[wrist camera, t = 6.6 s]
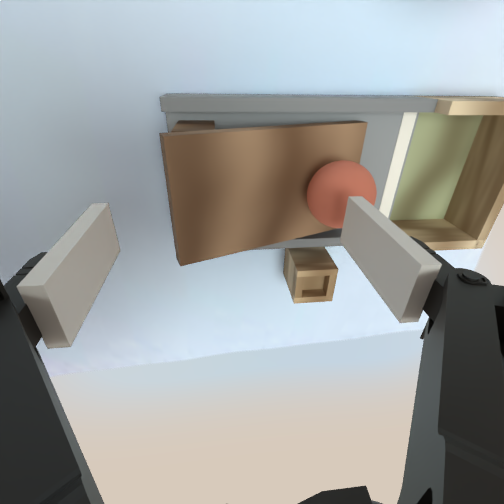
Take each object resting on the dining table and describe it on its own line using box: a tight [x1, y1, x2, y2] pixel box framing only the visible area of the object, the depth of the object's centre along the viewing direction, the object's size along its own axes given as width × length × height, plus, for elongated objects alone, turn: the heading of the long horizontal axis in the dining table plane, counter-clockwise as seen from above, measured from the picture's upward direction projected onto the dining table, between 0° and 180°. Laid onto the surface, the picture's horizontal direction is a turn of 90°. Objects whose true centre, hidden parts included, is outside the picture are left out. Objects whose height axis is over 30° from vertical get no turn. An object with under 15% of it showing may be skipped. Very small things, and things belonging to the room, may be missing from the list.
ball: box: [307, 160, 377, 228], centre depth 20 cm, size 4×4×4 cm
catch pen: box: [390, 96, 504, 251], centre depth 24 cm, size 7×11×4 cm, turn 179°
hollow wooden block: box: [283, 247, 338, 303], centre depth 27 cm, size 3×3×5 cm
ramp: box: [159, 120, 368, 266], centre depth 20 cm, size 14×8×6 cm, turn 89°
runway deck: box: [160, 94, 438, 250], centre depth 23 cm, size 18×11×3 cm, turn 89°
